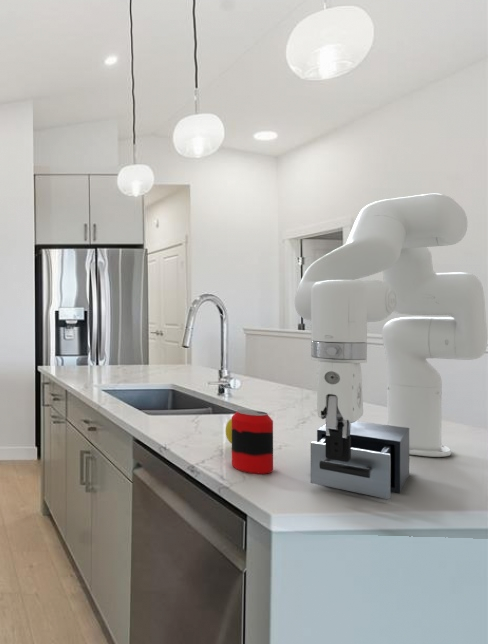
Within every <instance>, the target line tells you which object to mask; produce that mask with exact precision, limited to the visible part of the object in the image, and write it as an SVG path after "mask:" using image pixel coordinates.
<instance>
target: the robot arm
mask: <svg viewBox="0 0 488 644" xmlns="http://www.w3.org/2000/svg"><path fill="white" fill-rule="evenodd" d="M467 231H468V216H467V213H466V211H465V210H464V208H463V207H462V205H460V203H458V202H457V201H456V200H455V199H454V198H453V197H451V196H449V195H446V194H444V193H443V194H442V193H424V194H416V195H411V196H402V197H395V198H387V199H381V200H377V201H373V202H371V203H369V204H367V205H365V206H364V207H362V209H361V210H360V211H359V213H358V215H357V217H356V219H355V221H354V223H353V225H352V228H351V231H350V233H349V235H348V237H347V239H346V242H345V244H343V245H341V246H339V247H337V248H336V249H333V250H331V251H330V252H328V253H327V254H324V255H323V256H321V257H319V258H318V259H317V260H315V261H313V262H312V263H311V264H310V265H309V266H308V267H307V268H306V270H305V271H304V273H303V275H302V277H301V279H300V281H299V283H298V286H297V289H296V292H295V294H294V295H295V297H294V308H295V311H296V313H297V314H298V316H300V317H301V318H302V319H303V320H307V321H309V322H310V336H311V337H310V345H311V346H310V358H311V359H310V360H311V361H317V362H318V363H317V372H316V374H317V381H316V382H317V383H316V384H317V385H316V408H317V409H316V410H317V411H316V412H317V416H318V418H320V419H321V420H325V424H326V458H327V459H332V460H338V461H343V462H348V461H349V460H350V459H351V437H347V436H350V423H353V422H355V421H358V420H359V419H361V417H362V416H364V400H363V378H362V377H363V375H362V368H361V364H364V363H365V364H366V363H368V323H375V322H381V321H383V320H386V319H387V318H389V317H390V316H391V315H392V314H393V313H394V314H397V315H403V316H402V317H396V318H392V319H390V320H388V321H387V322H385V323H384V325H383V327H382V330H381V336H382V337H381V338H382V343H383V344H382V345H383V349H384V354H385V361H386V425H390V426H398V427H406V428H409V455H412V456H418V457H428V458H429V457H431V458H432V457H433V458H441V457H442V458H444V457H449V456H451V455H452V449H451V448H450V447H448V446H445V445H442V420H443V419H442V417H443V416H442V410H443V409H442V408H443V407H442V405H443V403H442V401H443V400H442V399H443V398H442V397H443V395H442V393H443V392H442V388H443V387H442V385H443V384H442V381H443V380H442V377H441V374H440V373H439V371H438V370H437V369H436V368H435V367H434V366H433V365H432V364H431V363H430V362H429V361H428V360H427V359H438V360H439V359H440V360H457V361H458V360H459V361H473V360H477V359H480V358H481V357H483V356H484V355H485V354H486V351H487V347H488V329H487V317H486V316H487V315H486V302H485V292H484V287H483V284H482V282H481V280H480V279H479V277H478V276H476V275H475V274H473V273H470V272H462V271H461V272H458V271H457V272H435V271H434V267H433V256H432V255H433V254H432V252H431V251H430V249H429V248H433V247H435V248H436V247H448V246H454V245H457V244H458V243H460V242H461V241H462V240H463V239H464V238H465V236H466V234H467ZM378 273H382V278H383V281H382V280H379V279H362V278H367V277H370V276H372V275H376V274H378ZM435 316H436V317H435ZM441 316H442V317H441ZM445 316H449V317H445Z"/></svg>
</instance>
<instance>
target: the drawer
mask: <svg viewBox="0 0 488 644" xmlns="http://www.w3.org/2000/svg"><path fill="white" fill-rule="evenodd" d="M394 446H395V445H391V444H385V443H378V442H371V441H364V440H358V439H351V459H350V460H349V461H348V462H343V461H338V460H332V459H327V458H326V436H325V437H324V438H322V439H321V440H320V441H319V442H317V441H310V484H314V485H318V486H324V487H329V488H333V489H337V490H343V491H348V492H352V493H357V494H360V495H361V494H362V495H366V496H371V497H376V498H381V499H386V500H391V491H390V485H391V484H392V482H393V480H394Z"/></svg>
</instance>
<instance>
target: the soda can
mask: <svg viewBox="0 0 488 644" xmlns="http://www.w3.org/2000/svg"><path fill="white" fill-rule="evenodd" d="M231 419H232V444H231V465H232V467H233V468H234V469H236V470H238V471H240V472H244V473H249V474H255V475H257V474H258V475H266V474H267V475H268V474H271V473H272V472H273V471H274V420H273V419H272V418H271V417H270V415H269V414H268V413H267V412H265V411H262V410H255V409H238V410H236V412H234V414H233V415H232V416H231Z"/></svg>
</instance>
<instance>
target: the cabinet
mask: <svg viewBox="0 0 488 644" xmlns="http://www.w3.org/2000/svg"><path fill="white" fill-rule="evenodd" d="M325 436H326V423H324V424H323V425H321V426H320V427H318V428H317V429H316V442H319V441H320V440H321V439H322V438H324V437H325ZM347 437H351V439H358V440H364V441H371V442H378V443H385V444H391V445H395V446H394V480H393V482H392V484H391V485H390V492H392V493H398V494H401V493H402V490H403V489H404V486H405V485H406V482H407V480H408V478H409V476H410V454H409V428H406V427H398V426H390V425H387V424H383V423H375V422H366V421H360V420H359V421H358V420H357V421H355V422H353V423H350V436H347Z"/></svg>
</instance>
